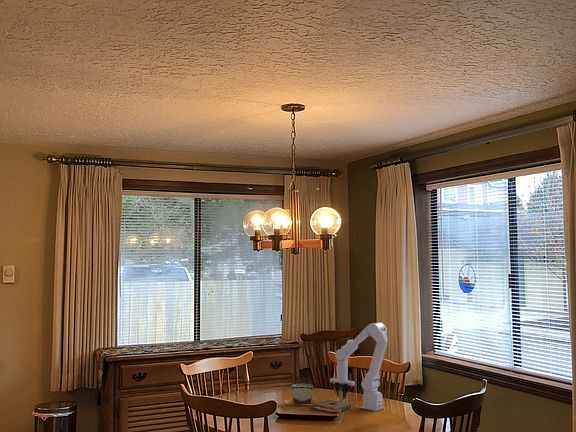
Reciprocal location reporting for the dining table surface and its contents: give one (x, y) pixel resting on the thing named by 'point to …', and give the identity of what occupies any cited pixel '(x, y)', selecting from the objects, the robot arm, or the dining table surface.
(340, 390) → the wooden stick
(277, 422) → the dining table surface
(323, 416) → the dining table surface
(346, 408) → the holder block
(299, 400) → the food container
